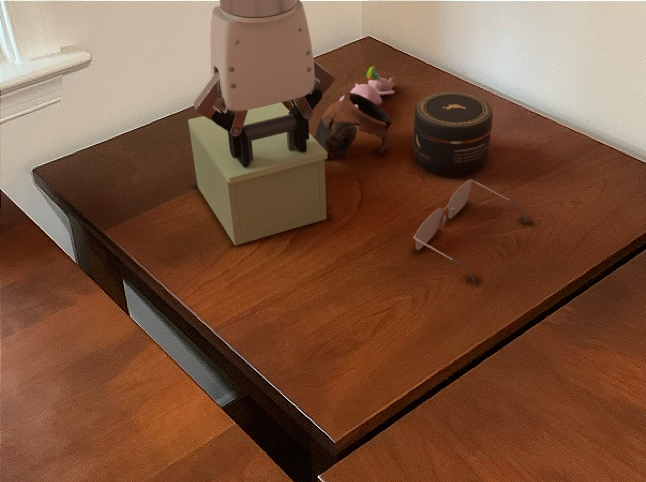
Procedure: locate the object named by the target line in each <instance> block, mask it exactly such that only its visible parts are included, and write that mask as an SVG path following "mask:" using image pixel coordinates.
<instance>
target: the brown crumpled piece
mask: <svg viewBox="0 0 646 482" xmlns="http://www.w3.org/2000/svg"><path fill="white" fill-rule="evenodd" d="M344 95H345V96H344ZM344 95H343V96H344V98H343V100H342V101H339V100H338V101H336V102H334V103H332V104H331V105H329V106H328V107H327V108H326V109H325V111H324V113H323V114H322V115H321V117H320V120H319V122H318V125H317V127H316V130H315V137H314V139H315V140H316V141H317V142H318V143H319V144H320V145H321V146H322V147H323V148H324V149H325V151H326V152H327V154H329V155H330V156H331V158H332V159H335V160H344V159H345V158H346V156H347V155H348V152H349V149H350V147H351V146H352V145H353V142H355V140H356V137H357V131H358V130H359V131H360V132H364V133H366V134H368V135H374V136H375V137H377V138H378V137H379V138H381V145H380V147H379V149H378V151H379V153H380V154H383V153H384V152H385V151H386V148H387V146H388V145H387V144H388V143H389V127H390V126H391V125H392V123H393V122H392V119H391V117H390V116H389V114H388V113H387V112H386V111H385V110H384V109H383V108H382V107H380V105H379V106H378V105H376V104H375V103H374V102H372V101H371V100H369V99H367V98H365V97H363V96H361V95H358V94H355V93H350V92H346V93H345V94H344ZM355 105H358V108H357V107H356V106H355ZM358 126H359V127H358ZM332 127H333V128H332ZM357 127H358V130H357Z"/></svg>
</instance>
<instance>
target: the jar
mask: <svg viewBox="0 0 646 482" xmlns="http://www.w3.org/2000/svg"><path fill="white" fill-rule="evenodd" d="M493 119H494V113H493V108H492V106H491V105H490V104H489V102H488V101H486V100H485V99H483V98H482V97H480V96H478V95H476V94H472V93H469V92H463V91H451V90H449V91H440V92H434V93H431V94H428V95H426V96H424V97H422V98H421V99H420V100H419V101H418V102H417V104H416V105H415V109H414V118H413V144H412V145H413V152H414V156H415V160H416V162H417V163H418V164H419V166H420V167H421V168H422V169H423V170H425V171H426V172H428V173H430V174H433V175H436V176H440V177H445V178H446V177H447V178H460V177H465V176H469V175H471V174H474V173H475V172H477V171H478V170H479V169H481V168H482V167H483V165H484V163H485V161H486V160H487V157H488V155H489V149H490V141H491V133H492V130H493Z"/></svg>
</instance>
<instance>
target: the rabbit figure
mask: <svg viewBox="0 0 646 482" xmlns="http://www.w3.org/2000/svg"><path fill="white" fill-rule="evenodd" d="M366 77H367V79H368V82H367V83H360V84H359V83H355V85H354V87H353V88H352V89H351V91H350V92H349V93H355V94H358V95H361V96H363V97H365V98H367V99H369V100H371V101H372V102H374V103H375V104H376V105H378V106H379V107H380V105H382V103H383V100H382V99H383V98H382V97H381V96H388V95H389V96H390V95H394V94H395V90H392V89H393V88H394V87H395V86H396V82H395V76H392V77H390V78H389V79H387V78H384V77H381V76H380V74H379V73H377V72H376V65H372V66H370V67H369V68H368V70H367V72H366ZM344 96H345V94H344V95H343V96H341V97H340V98H339V100H338V101H342V100H343V98H344ZM355 106H356V107H357V108H358V105H355Z"/></svg>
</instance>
